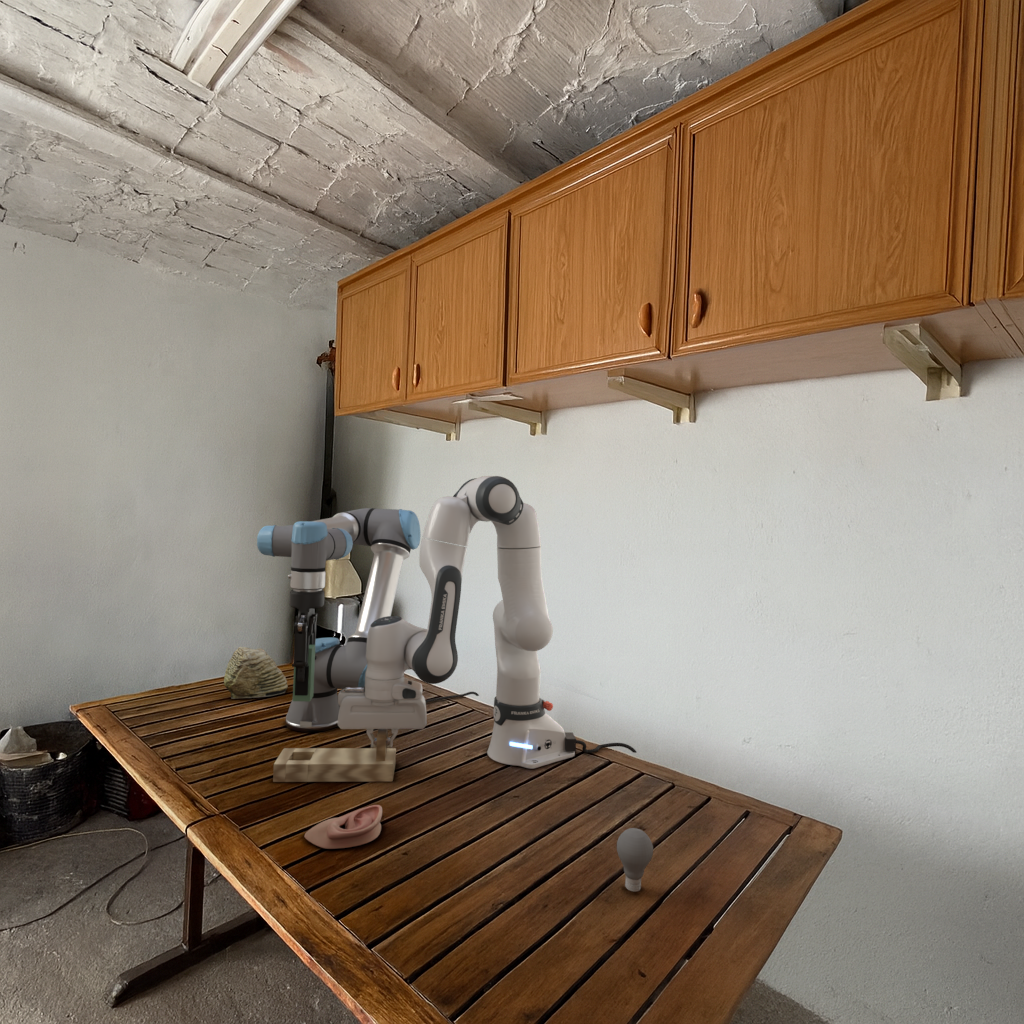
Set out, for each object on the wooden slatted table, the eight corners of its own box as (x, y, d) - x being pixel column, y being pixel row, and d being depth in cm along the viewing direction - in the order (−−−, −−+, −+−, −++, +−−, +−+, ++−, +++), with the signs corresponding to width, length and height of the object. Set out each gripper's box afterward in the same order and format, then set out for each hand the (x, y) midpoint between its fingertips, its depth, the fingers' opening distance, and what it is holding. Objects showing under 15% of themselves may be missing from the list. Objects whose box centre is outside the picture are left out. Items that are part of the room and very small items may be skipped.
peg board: (272, 782, 140) (274, 737, 139) (283, 764, 148) (284, 722, 148) (392, 781, 142) (394, 737, 142) (395, 764, 151) (397, 723, 151)
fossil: (219, 695, 195) (221, 647, 195) (279, 686, 207) (281, 640, 207) (229, 703, 188) (231, 653, 188) (290, 693, 201) (292, 646, 200)
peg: (296, 696, 146) (298, 644, 146) (313, 696, 146) (315, 644, 146) (292, 701, 142) (294, 648, 142) (310, 701, 142) (312, 648, 142)
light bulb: (610, 878, 109) (613, 821, 108) (645, 878, 109) (647, 821, 109) (619, 901, 103) (622, 840, 103) (655, 900, 103) (658, 839, 103)
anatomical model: (296, 822, 115) (327, 794, 126) (295, 844, 115) (326, 814, 126) (364, 833, 112) (389, 803, 124) (363, 855, 112) (388, 823, 124)
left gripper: (298, 584, 152) (295, 681, 152) (281, 594, 135) (276, 703, 135) (330, 584, 153) (327, 681, 153) (317, 595, 136) (312, 704, 136)
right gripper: (335, 691, 142) (333, 752, 142) (427, 691, 144) (425, 752, 144) (340, 683, 148) (338, 741, 148) (428, 683, 150) (426, 741, 151)
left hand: (303, 691), depth 144 cm, fingers closed on peg, 4 cm apart
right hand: (382, 746), depth 146 cm, fingers closed on peg board, 2 cm apart
